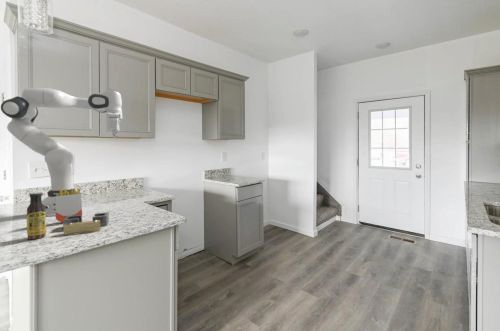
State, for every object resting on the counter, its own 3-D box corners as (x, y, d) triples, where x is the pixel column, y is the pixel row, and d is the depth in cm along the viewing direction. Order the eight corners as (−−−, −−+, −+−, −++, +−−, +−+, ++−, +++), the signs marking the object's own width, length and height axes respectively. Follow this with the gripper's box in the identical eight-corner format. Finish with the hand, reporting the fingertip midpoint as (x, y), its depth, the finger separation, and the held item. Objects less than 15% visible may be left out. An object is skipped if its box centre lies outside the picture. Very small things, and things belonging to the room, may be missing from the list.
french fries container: (55, 223, 129) (53, 189, 127) (80, 218, 137) (78, 186, 135) (57, 224, 126) (55, 190, 124) (82, 220, 133) (80, 187, 132)
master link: (63, 235, 111) (63, 224, 110) (65, 233, 114) (65, 222, 113) (99, 230, 116) (99, 220, 116) (100, 229, 119) (100, 218, 119)
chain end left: (63, 230, 117) (62, 220, 116) (68, 225, 124) (67, 216, 124) (78, 228, 119) (77, 218, 119) (82, 224, 127) (81, 214, 126)
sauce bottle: (28, 241, 104) (25, 195, 102) (26, 237, 108) (23, 193, 106) (48, 237, 109) (45, 192, 107) (45, 233, 113) (42, 191, 111)
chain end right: (108, 221, 131) (108, 212, 131) (106, 225, 124) (106, 216, 124) (95, 222, 129) (95, 213, 129) (92, 227, 122) (92, 217, 121)
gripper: (110, 117, 164) (111, 138, 165) (106, 113, 146) (107, 137, 147) (121, 118, 167) (122, 138, 168) (118, 114, 148) (119, 137, 149)
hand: (115, 137), depth 157 cm, fingers open, 8 cm apart
